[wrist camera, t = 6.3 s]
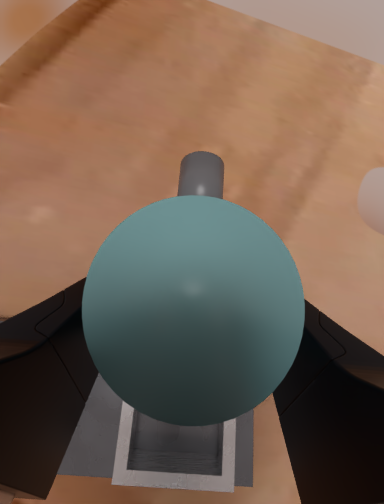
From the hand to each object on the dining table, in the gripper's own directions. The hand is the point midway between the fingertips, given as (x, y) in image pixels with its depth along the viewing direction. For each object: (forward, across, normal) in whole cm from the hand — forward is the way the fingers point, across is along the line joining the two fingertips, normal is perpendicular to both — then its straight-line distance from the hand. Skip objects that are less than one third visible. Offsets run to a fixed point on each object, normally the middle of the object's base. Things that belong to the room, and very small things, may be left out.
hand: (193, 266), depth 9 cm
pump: (+5, 0, +5) cm, 7 cm away
